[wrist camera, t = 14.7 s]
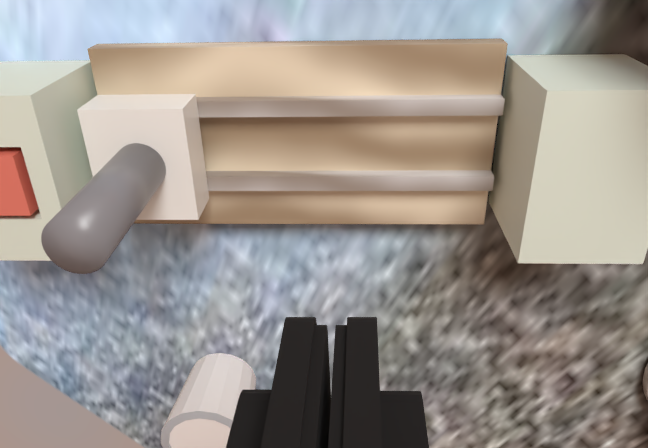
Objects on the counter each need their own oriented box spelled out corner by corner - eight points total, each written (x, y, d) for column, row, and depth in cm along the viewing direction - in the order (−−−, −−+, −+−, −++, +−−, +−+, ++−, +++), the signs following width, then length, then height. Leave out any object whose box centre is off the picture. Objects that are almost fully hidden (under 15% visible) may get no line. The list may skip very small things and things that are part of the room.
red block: (63, 185, 36) (30, 215, 32) (7, 185, 36) (-31, 215, 32) (48, 130, 34) (12, 156, 30) (-10, 131, 34) (-53, 156, 30)
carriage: (209, 198, 37) (153, 309, 27) (120, 198, 38) (30, 308, 27) (195, 93, 34) (126, 174, 24) (97, 94, 34) (-15, 174, 24)
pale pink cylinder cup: (215, 333, 46) (194, 397, 40) (279, 377, 48) (269, 445, 42) (168, 378, 49) (142, 445, 43) (230, 418, 51) (214, 487, 45)
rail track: (479, 214, 40) (487, 231, 38) (132, 213, 41) (120, 230, 39) (501, 38, 34) (511, 46, 32) (97, 43, 35) (80, 52, 33)
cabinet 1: (123, 201, 41) (75, 260, 34) (28, 201, 41) (-39, 260, 34) (92, 60, 36) (30, 95, 29) (-14, 61, 36) (-102, 96, 29)
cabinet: (590, 201, 39) (642, 263, 32) (488, 201, 39) (518, 263, 32) (624, 54, 34) (694, 89, 27) (507, 55, 35) (547, 90, 28)
